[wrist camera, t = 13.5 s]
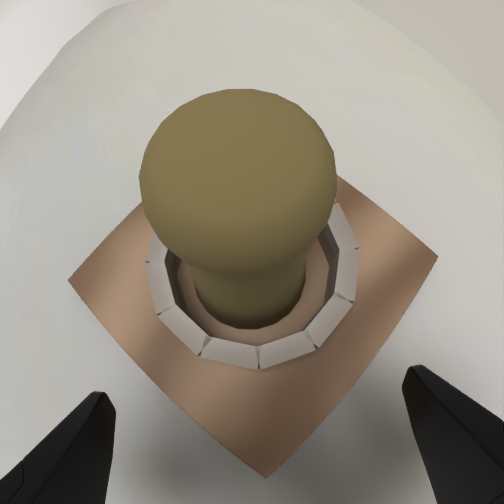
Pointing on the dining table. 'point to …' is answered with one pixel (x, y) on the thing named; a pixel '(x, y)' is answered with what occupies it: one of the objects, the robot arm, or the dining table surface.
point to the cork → (240, 199)
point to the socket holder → (265, 339)
